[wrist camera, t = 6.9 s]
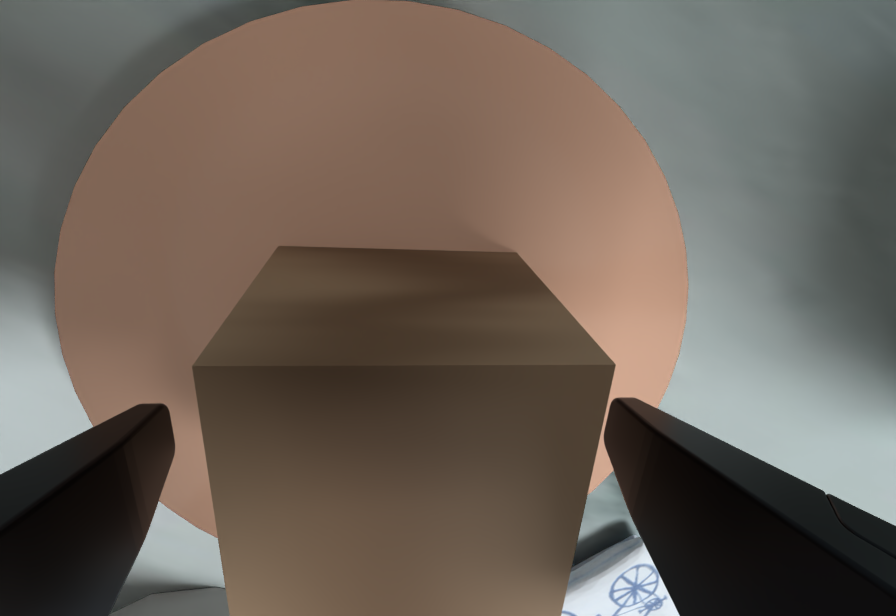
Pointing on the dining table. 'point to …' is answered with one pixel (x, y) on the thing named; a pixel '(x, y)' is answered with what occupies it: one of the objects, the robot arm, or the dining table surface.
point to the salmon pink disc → (356, 197)
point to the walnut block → (399, 435)
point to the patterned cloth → (618, 584)
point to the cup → (180, 604)
